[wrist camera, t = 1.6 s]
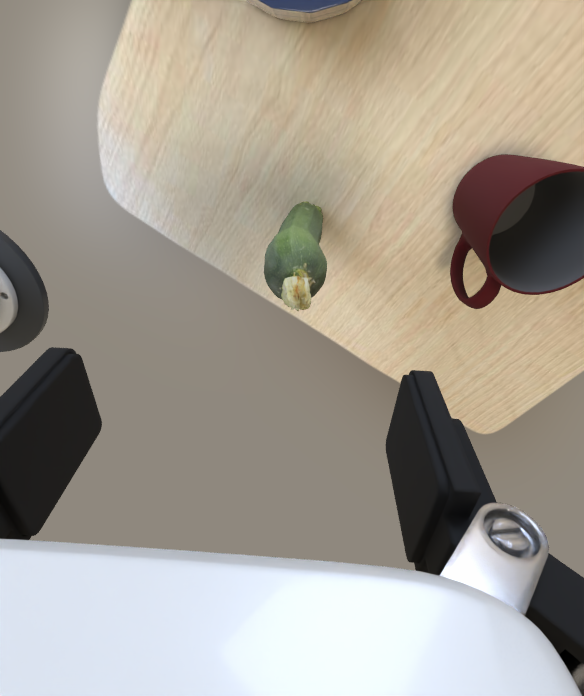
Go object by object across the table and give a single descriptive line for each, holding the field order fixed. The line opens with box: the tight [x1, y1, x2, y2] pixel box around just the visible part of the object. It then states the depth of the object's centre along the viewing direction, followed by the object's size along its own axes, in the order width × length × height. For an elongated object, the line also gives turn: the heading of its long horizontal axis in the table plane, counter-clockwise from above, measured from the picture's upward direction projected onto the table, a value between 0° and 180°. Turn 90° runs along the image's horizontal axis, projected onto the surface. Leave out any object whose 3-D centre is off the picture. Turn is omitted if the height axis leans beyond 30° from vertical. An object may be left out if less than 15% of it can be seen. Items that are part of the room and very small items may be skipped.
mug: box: [450, 154, 584, 309], centre depth 33 cm, size 12×9×11 cm
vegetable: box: [264, 202, 327, 311], centre depth 30 cm, size 4×4×20 cm
